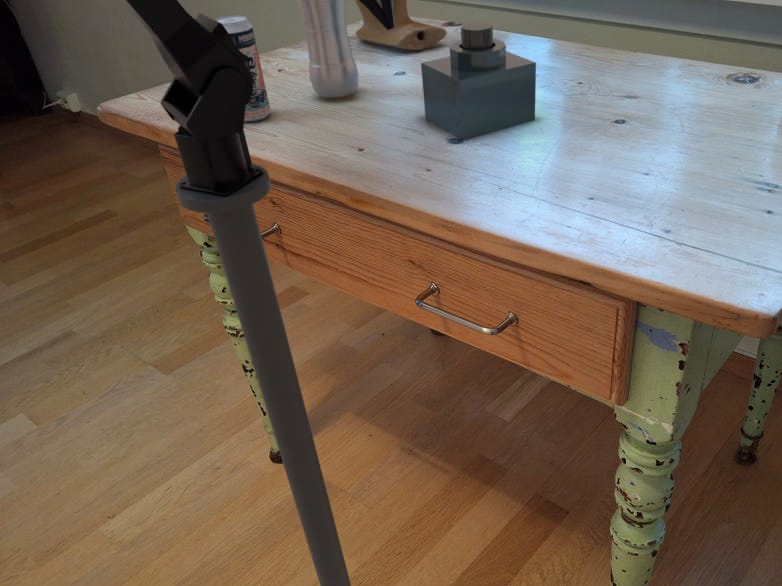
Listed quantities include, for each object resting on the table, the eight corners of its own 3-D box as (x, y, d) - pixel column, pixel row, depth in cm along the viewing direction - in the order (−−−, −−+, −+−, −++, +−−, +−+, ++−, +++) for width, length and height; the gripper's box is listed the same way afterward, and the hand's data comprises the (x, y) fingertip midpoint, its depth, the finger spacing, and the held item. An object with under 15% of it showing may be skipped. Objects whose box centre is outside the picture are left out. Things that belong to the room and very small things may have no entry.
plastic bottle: (357, 102, 96) (333, -67, 84) (308, 103, 97) (277, -65, 84) (364, 87, 101) (342, -74, 89) (317, 88, 102) (289, -72, 89)
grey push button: (472, 55, 82) (471, 31, 81) (455, 48, 85) (454, 25, 83) (499, 49, 84) (499, 26, 82) (482, 42, 86) (481, 20, 85)
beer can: (245, 126, 91) (220, 26, 83) (228, 117, 93) (203, 19, 86) (278, 116, 93) (257, 18, 85) (261, 107, 96) (239, 12, 88)
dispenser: (461, 140, 85) (458, 62, 79) (425, 119, 91) (419, 45, 85) (535, 119, 89) (536, 45, 83) (495, 100, 95) (494, 29, 89)
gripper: (424, -186, 71) (469, -27, 82) (257, -124, 74) (322, 21, 85) (422, -156, 63) (471, 14, 75) (237, -89, 67) (311, 64, 78)
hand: (391, 27), depth 78 cm, fingers closed
